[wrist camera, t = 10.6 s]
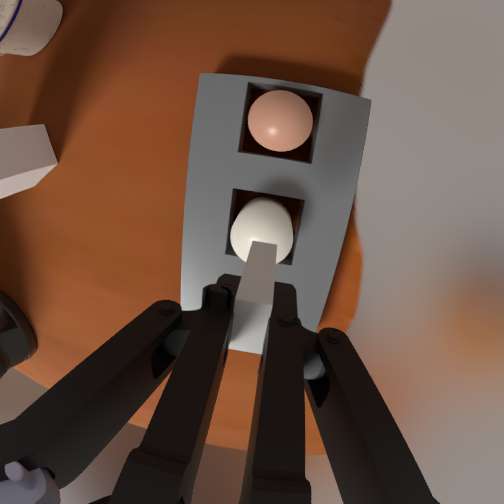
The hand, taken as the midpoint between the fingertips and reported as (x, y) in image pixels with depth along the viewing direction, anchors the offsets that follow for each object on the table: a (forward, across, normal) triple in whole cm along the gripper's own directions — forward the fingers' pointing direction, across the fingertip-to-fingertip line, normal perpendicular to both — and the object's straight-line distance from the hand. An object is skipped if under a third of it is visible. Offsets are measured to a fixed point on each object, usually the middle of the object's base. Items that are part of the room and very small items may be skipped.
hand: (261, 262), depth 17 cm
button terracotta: (+10, 0, -9) cm, 13 cm away
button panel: (+10, 0, 0) cm, 10 cm away
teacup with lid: (+10, +34, -22) cm, 42 cm away
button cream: (+9, 0, 0) cm, 9 cm away
